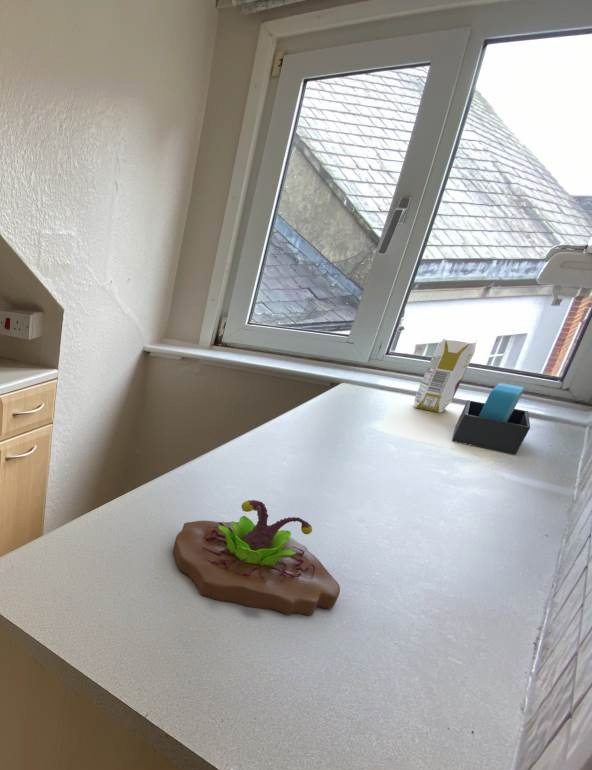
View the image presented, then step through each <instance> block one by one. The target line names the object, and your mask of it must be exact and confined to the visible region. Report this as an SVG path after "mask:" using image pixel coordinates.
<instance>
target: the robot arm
mask: <svg viewBox="0 0 592 770" xmlns="http://www.w3.org/2000/svg"><path fill="white" fill-rule="evenodd" d="M544 262H545V264H544V266H543V267H542V268H541V269H540V271H539V274H538V275H537V277H536V279H535V281H536V283H537V284H538V285H546V286H552V288H551V293H552V298H553V299H552V301H551V303H550V306H551V307H560V305H561V303H562V301H563V300H564V298H562V297H559V294H558V292H560V291H561V290H562V288H563V287H572V288H582V289H583V288H585V289H592V236H591V237H590V240H589V241H588V243H587V244H583V243H575V244H573V243H572V244H570V243H560V244H557V245H554V246H551V248H549V250H548V251H547V252H546V255H545V256H544Z"/></svg>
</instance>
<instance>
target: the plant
mask: <svg viewBox="0 0 592 770" xmlns="http://www.w3.org/2000/svg"><path fill="white" fill-rule="evenodd" d="M241 511H242V512H246V513H250V512H252V511H254V512H256V513H257V514H256V516H257V522H256V524H255V523H254V522H253V521H252V520H251V519H250V518H248V517H247V516H245V515H242V516H240V517H239V522H238V521H234V520H231V521H228V522H227V521H215V520H196V521H189V522H188V521H187V522H184V524H183V526H182V528H181V530H180V531H179V532H178V533H177V534H176V536H175V540H174V544H173V549H172V555H173V557H174V559H175V563H176V566H177V569H178V570H179V571H180V572H182V573H183V574H185V575H186V576H188V577H189V578H190V580H191V581H192V582H193V583H194V585H195V587H196V588H197V590H198V592H199V594H200V596H204V597H207V598H209V599H213V600H217V601H220V602H230V603H236V604H239V605H241V606H245V607H249V608H257V609H266V610H273V611H277V612H279V613H281V614H284V615H287V616H289V615H291V614H301V615H304V616H312V615H313V614H314V613H315V610H316V608H317V607H318V608H323V609H327V610H331V609H332V608H334V606H335V605H336V603H337V601H338V598H339V595H340V592H341V587H340V584H339V582H338V581H337V580H336V579H335V578H334V577H333V575H331V573H330V572H329V570H327V568H326V567H325V566H324V565H323V564H322V562H321V561H320V559H318V557H316V555H314V554H313V553H312V552H310V551H309V550H308V547H307V546H305V545H303V544H302V543H299V542H298V541H297V540H295V539H294V538H292V537H291V536H292V531H290V530H284V529H282V530H280V529H281V528H282V527H284V526H285V525H287V524H289V523H291V522H294V523H296V522H298V523H300V524H301V528H300V531H301V532H302V534H304V535H310V534H311V533H312V532H313V526H312V525H311V524H310V523H309V522H308V521H305V520H304V519H303V518H300V517H295V516H293V517H290V516H288V517H284V518H283V519H282V518H281V519H280V520H277V521H276V522H275V523H273V524H270V525H268V518H269V514H268V509H267V507H266V505H265V503H264V502H262V501H261V500H255V499H252V500H251V499H249V500H245V501H243V503H242V504H241Z"/></svg>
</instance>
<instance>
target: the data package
mask: <svg viewBox="0 0 592 770" xmlns="http://www.w3.org/2000/svg"><path fill="white" fill-rule="evenodd" d="M524 391H525V387H524V386H520V385H515V384H509V383H503V382H499V383H498V384H497V385H496V386H494V387H493V388H492V389H491V391H490V392H489V395H488V397H487V398H486V400H485V402H484V403H485V405H484V407H483V409H482V411H481V413H480V415H479V417H482V418H487V419H493V420H498V421H503V422H508V420H509V418H510V416H511V414H512V412H513V410H514V409H516V406H517V404H518V403H519V401H520V399H521V397H522V395H523V393H524Z"/></svg>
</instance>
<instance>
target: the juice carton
mask: <svg viewBox="0 0 592 770" xmlns="http://www.w3.org/2000/svg"><path fill="white" fill-rule="evenodd" d="M476 347H477V340H476V339H470V338H465V337H458V336H449V335H447V336H446V337H445V338H443V339H442V340H441V342H440V343H439V344H438V345H437V346H436V348H435V350H434V352H433V354H432V357H431V359H430V361H429V364H428V366H427V368H426V371H425V373H424V375H423V377H422V380H421V382H420V384H419V387H418V388H417V392H416V394H415V397H414V402H413V407H414V408H416V409H420V410H426V411H429V412H430V411H431V412H434V413H439V414H440V413H441V414H442V413H443V412H444V410H445V409H446V408H447V407H448V406H449V405H450V403H451V402H452V401H453V400H454V398H455V395H456V393H457V391H458V389H459V387H460V384H461V382H462V380H463V378H464V376H465V374H466V372H467V369H468V367H469V365H470V363H471V361H472V359H473V357H474V354H475V352H476Z"/></svg>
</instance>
